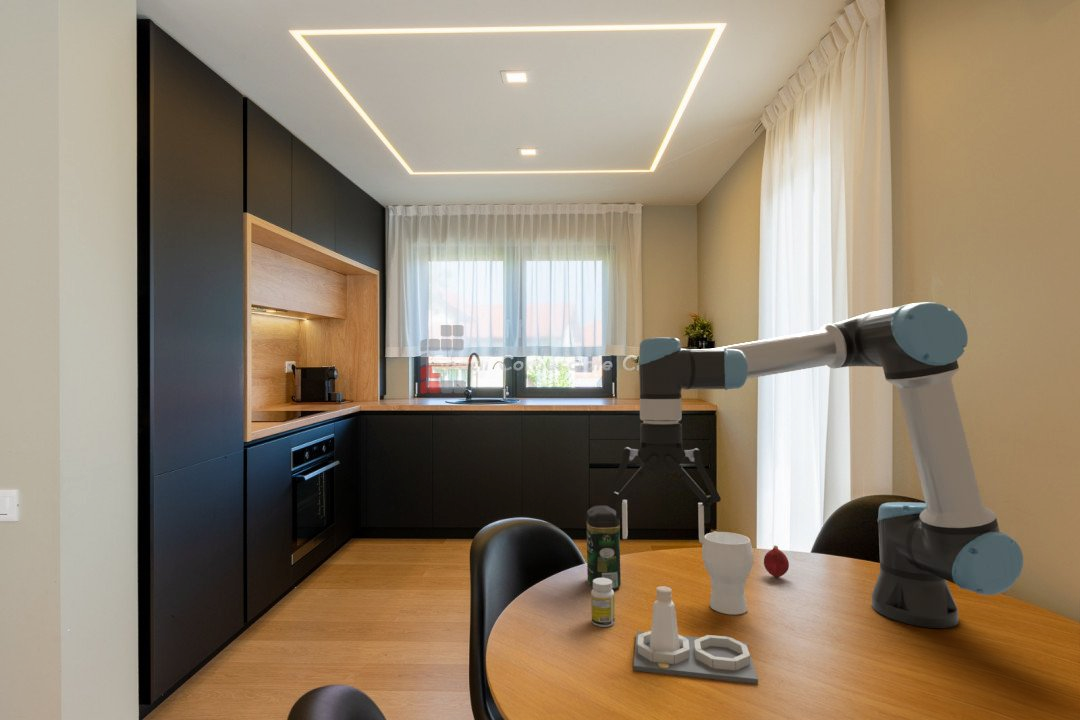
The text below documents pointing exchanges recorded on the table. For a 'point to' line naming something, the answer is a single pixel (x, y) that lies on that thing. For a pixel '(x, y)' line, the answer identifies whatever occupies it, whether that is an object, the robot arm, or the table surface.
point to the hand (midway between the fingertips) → (662, 539)
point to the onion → (776, 562)
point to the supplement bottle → (602, 603)
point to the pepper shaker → (664, 622)
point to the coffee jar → (603, 545)
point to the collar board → (698, 666)
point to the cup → (727, 570)
